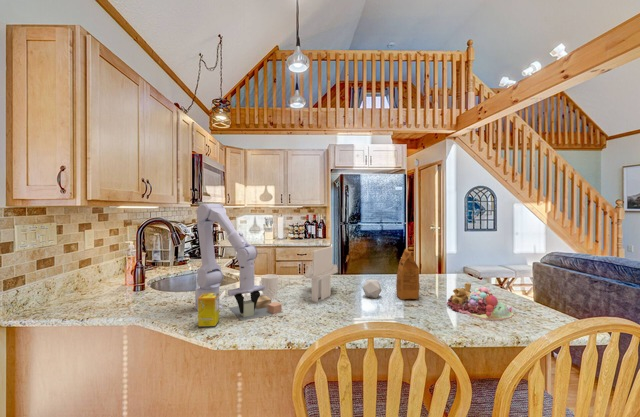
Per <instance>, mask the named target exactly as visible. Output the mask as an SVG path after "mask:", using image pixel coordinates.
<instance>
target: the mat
mask: <svg viewBox="0 0 640 417" xmlns="http://www.w3.org/2000/svg"><path fill="white" fill-rule="evenodd" d="M228 309H229V310H230V311H231V313H232V314H234V315H235V317H237V319H239V320H240V321H241V322H243V321H247V320H254V319H258V318H263V317H266V316H272V315H273V314H272V313H270V312H267V307H266V308H261V309H257V308H256V307H255V311H254V315H253V316H248V317H243V316H242V315H241V313H240V310H239V306H238V305H237V306H232V307H228ZM281 313H283V311H282V310H281V312H278V313H275V314H274V315H276V314H281Z"/></svg>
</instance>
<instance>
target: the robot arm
mask: <svg viewBox="0 0 640 417" xmlns="http://www.w3.org/2000/svg"><path fill="white" fill-rule="evenodd" d="M195 213H196V218H197V219H196V220H197V223H196V224H197V231H198V232H197V233H198V240H199V249H200V258H201V265H200V267H199V268H198V270H197V276H196V283H197V285H198V287H199V288H195V293H194V295H195V296H194V300H195V301H194V302H195V305H194V308H195V309H196V310H197V312H198V298H199V297H200V296H201V295H202V294H203V293H219V294H220V286H221V283H222V282H223V280H224V273H223V270H222V268H221V265H220V264H218V263H217V261H216V253H215V245H214V237H213V229H212V226H213V225H214V223H215V222H216V223H218V225H220V227H221V228H222V230H224V231H225V233H226V234H227V235H228V238H227V240H228V242H229V243H230V245H231V246H232V247H233V249H234V251H235V252H236V253H235V257H236V259H237V261H238V264H237V265H238V266H239V287H236V288H233V289H232V288H231V289H227V296H228V297H233V296H234V298H235V300H236V303H237V306H239V310H240V313H243V301H245V297H244V296H243V294H250V300H251V301H252V302H254V311H255V306H256V303H257V300H258V298H259V297H261V292H262V291H265V286H264V285H262V284H261V285H255V284H256V283H255V260H256V259H257V257H258V250H257V248H256V246H255V245H253V244H251V243H249V242H248V240H247V239H246V237H245V236H244V233H243V232H241V231H240V230H236V228H235V227H234V224H233V223H232V222H231V220H230V218H229V217H228V215H227V209H226V208H225V206H224V204H222V203H220V202H219V203H218V202H217V203H205V202H204V203H203V202H202V203H200V204H199V205H198V207H197V208H196V212H195ZM221 309H223V306H222V305H221V304H220V303H219V310H221Z"/></svg>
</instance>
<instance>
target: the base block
mask: <svg viewBox="0 0 640 417" xmlns="http://www.w3.org/2000/svg"><path fill="white" fill-rule="evenodd" d="M270 303H272V299H270V298H268V297H267V296H263V295H262V296H259V298H258V300H257V303H256V306H255V307H256V308H257V309H261V308H266V307H267V304H270Z"/></svg>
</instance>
